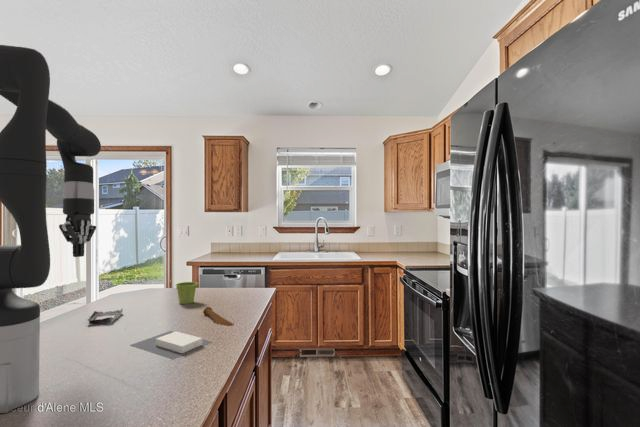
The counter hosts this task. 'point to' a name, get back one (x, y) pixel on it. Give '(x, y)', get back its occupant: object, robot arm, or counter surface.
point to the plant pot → (186, 292)
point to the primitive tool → (216, 317)
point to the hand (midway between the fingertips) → (78, 256)
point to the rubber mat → (151, 347)
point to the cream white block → (179, 342)
